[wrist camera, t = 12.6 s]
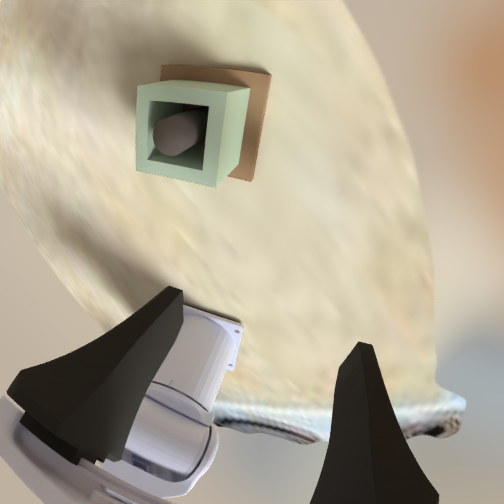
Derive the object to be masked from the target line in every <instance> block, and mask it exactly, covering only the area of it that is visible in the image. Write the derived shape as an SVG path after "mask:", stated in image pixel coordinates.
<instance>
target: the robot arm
mask: <svg viewBox="0 0 504 504" xmlns="http://www.w3.org/2000/svg"><path fill="white" fill-rule="evenodd" d="M242 332H243V325H242V324H241V323H238V322H235V321H232V320H229V319H225V318H222V317H219V316H216V315H213V314H210V313H207V312H204V311H201V310H198V309H195V308H192V307H189V306H187V305H184V304H183V290H180V289H177V288H174V287H171V286H168V287H166V288H165V289H164V290H163V291H161V292H160V293H159V294H158V295H157V296H155V297H154V298H153V299H152V300H150V301H149V302H148V303H147V304H145V305H144V306H143V307H142V308H140V309H139V310H138V311H136V312H135V313H134V314H132V315H131V316H130V317H129V318H127V319H126V320H124V321H123V322H122V323H120V324H119V325H117V326H116V327H114V328H113V329H111V330H110V331H108V332H107V333H105V334H104V335H102V336H100V337H99V338H97V339H95V340H94V341H92V342H90V343H88V344H87V345H85V346H83V347H81V348H79V349H77V350H75V351H73V352H71V353H68V354H66V355H64V356H61V357H59V358H57V359H54V360H52V361H49V362H46V363H43V364H40V365H37V366H33V367H30V368H27V369H23V370H21V371H20V372H19V373H18V375H17V376H16V378H15V379H14V381H13V382H12V384H11V385H10V387H9V389H8V390H7V394H8V395H9V396H10V397H11V398H12V399H13V400H14V401H15V402H16V403H17V404H18V405H19V406H20V407H22V408H23V409H24V410H25V413H24V412H23V411H21V410H20V409H19V408H18V407H16V406H15V405H14V404H13V403H12V402H11V401H10V400H9V399H8V398H6V397H5V396H2V397H1V399H0V456H1V457H2V458H3V460H4V461H5V462H6V463H7V464H8V465H9V467H10V468H11V469H12V470H13V471H14V472H15V473H16V474H17V475H18V477H19V478H20V479H21V480H22V481H23V482H24V483H25V484H26V485H27V486H28V488H29V489H30V490H31V491H32V492H33V493H34V494H35V495H36V496H37V497H38V498H39V499H40V500H41V501H42V502H44V503H45V504H175V503H172V502H170V501H167V500H164V499H162V498H169V497H176V496H182V495H186V494H187V493H188V491H189V490H191V489H192V488H193V486H194V484H195V483H196V482H197V480H198V479H199V478H200V477H201V476H202V475H203V474H204V473H205V472H206V471H207V470H208V468H209V467H210V465H211V463H212V462H213V459H214V457H215V455H216V452H217V449H218V445H219V434H218V431H217V427H216V426H215V425H213V424H212V421H213V419H214V415H212V414H210V411H211V408H212V406H213V403H214V401H215V398H216V395H217V393H218V390H219V388H220V385H221V382H222V380H223V377H224V375H225V372H226V370H229V371H233V370H234V367H235V363H236V359H237V354H238V350H239V345H240V341H241V336H242ZM96 460H98V461H99V464H100V465H101V467H102V468H103V469H101V468H99V467H98V466H96V465H94V464H95V462H96ZM310 504H439V494H438V492H437V491H436V490H435V488H434V487H433V486H432V484H431V483H430V482H429V480H428V479H427V477H426V476H425V474H424V473H423V471H422V469H421V468H420V466H419V464H418V463H417V461H416V459H415V457H414V455H413V453H412V452H411V450H410V448H409V446H408V444H407V442H406V440H405V438H404V435H403V433H402V431H401V429H400V426H399V424H398V421H397V419H396V416H395V413H394V411H393V408H392V405H391V402H390V399H389V396H388V393H387V390H386V387H385V384H384V381H383V378H382V375H381V371H380V368H379V365H378V362H377V358H376V355H375V352H374V348H373V346H372V345H371V344H367V343H363V342H358V343H357V344H356V346H355V347H354V348H353V350H352V351H351V353H350V354H349V355H348V356H347V358H346V359H345V360H344V362H343V363H342V364H341V366H340V367H339V370H338V375H337V380H336V386H335V392H334V403H333V413H332V423H331V432H330V439H329V445H328V449H327V453H326V457H325V460H324V464H323V468H322V471H321V475H320V478H319V481H318V483H317V486H316V489H315V492H314V494H313V497H312V499H311V502H310Z"/></svg>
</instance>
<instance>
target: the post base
mask: <svg viewBox="0 0 504 504" xmlns="http://www.w3.org/2000/svg"><path fill="white" fill-rule="evenodd" d="M168 80H188V81H200V82H210V83H219V84H228V85H235V86H242V87H248V88H250V94H249V100H248V107H247V113H246V119H245V125H244V132H243V138H242V145H241V152H240V158H239V164H238V165H237V166H236V167H235V168H234V169H233V170H232V171H231V173H230V174H229V175H228V177H233V178H237V179H241V180H245V181H249V182H251V181H252V179H253V176H254V170H255V165H256V159H257V153H258V147H259V142H260V136H261V130H262V125H263V119H264V113H265V108H266V102H267V97H268V91H269V86H270V80H271V75H268V74H262V73H256V72H249V71H242V70H234V69H225V68H214V67H202V66H183V65H162V70H161V81H168ZM161 81H160V82H161ZM208 113H209V106H203V105H194V104H185V103H183V112H182V113H179V114H176V115H173V116H170V117H168V118H165V119H162V120H161V121H159V122H158V123H157V124H156V126H155V127H154V130H153V141H154V144H155V146H156V148H157V149H158V150H159V151H160V152H161V153H163V154H165V155H167V156H176V155H178V154H180V153H182V152H183V151H185V150H186V149H188V148H190V147H191V146H193V145H195V144H200V145H205V141H206V131H207V122H208Z"/></svg>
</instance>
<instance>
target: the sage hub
mask: <svg viewBox="0 0 504 504" xmlns="http://www.w3.org/2000/svg"><path fill="white" fill-rule="evenodd" d="M249 94H250V88H248V87H242V86H235V85H228V84H219V83H210V82H200V81H188V80H168V81H161V82H155V83H149V84H143V85H138V86H137V103H136V171H140V172H145V173H150V174H155V175H160V176H164V177H169V178H174V179H178V180H183V181H187V182H192V183H196V184H201V185H205V186H209V187H213V188H216V187H217V186H218V185H219V184H220V183H221V182H222V181H223V180H224V179H225V178H226V177H227V176H228V175H229V174H230V173H231V171H232V170H233V169H234V168H235V167H236V166H237V165H238V164H239V158H240V152H241V145H242V138H243V132H244V125H245V119H246V113H247V107H248V100H249ZM183 103H185V104H194V105H203V106H209V113H208V122H207V131H206V141H205V145H200V144H195V145H193V146H191V147H190V148H188V149H186V150H185V151H183V152H182V153H180V154H178V155H176V156H167V155H165V154H163V153H161V152H160V151H159V150H158V149H157V148H156V146H155V144H154V141H153V130H154V127H155V126H156V124H157V123H158V122H159V121H161V120H162V119H165V118H168V117H170V116H173V115H176V114H179V113H182V112H183Z"/></svg>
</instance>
